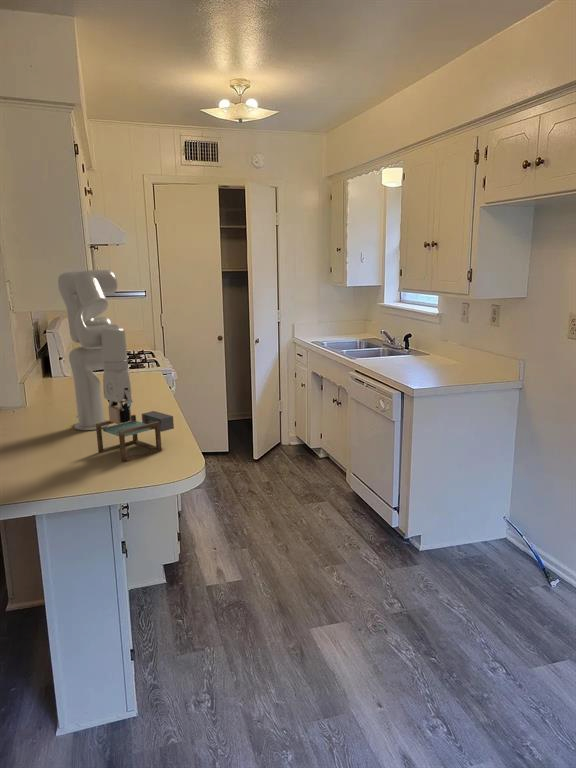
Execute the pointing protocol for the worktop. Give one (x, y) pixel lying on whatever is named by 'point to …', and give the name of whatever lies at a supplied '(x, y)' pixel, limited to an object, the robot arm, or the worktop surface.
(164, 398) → the worktop surface
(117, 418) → the pinkish beige cube
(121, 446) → the frame
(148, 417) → the chair seat and backrest
